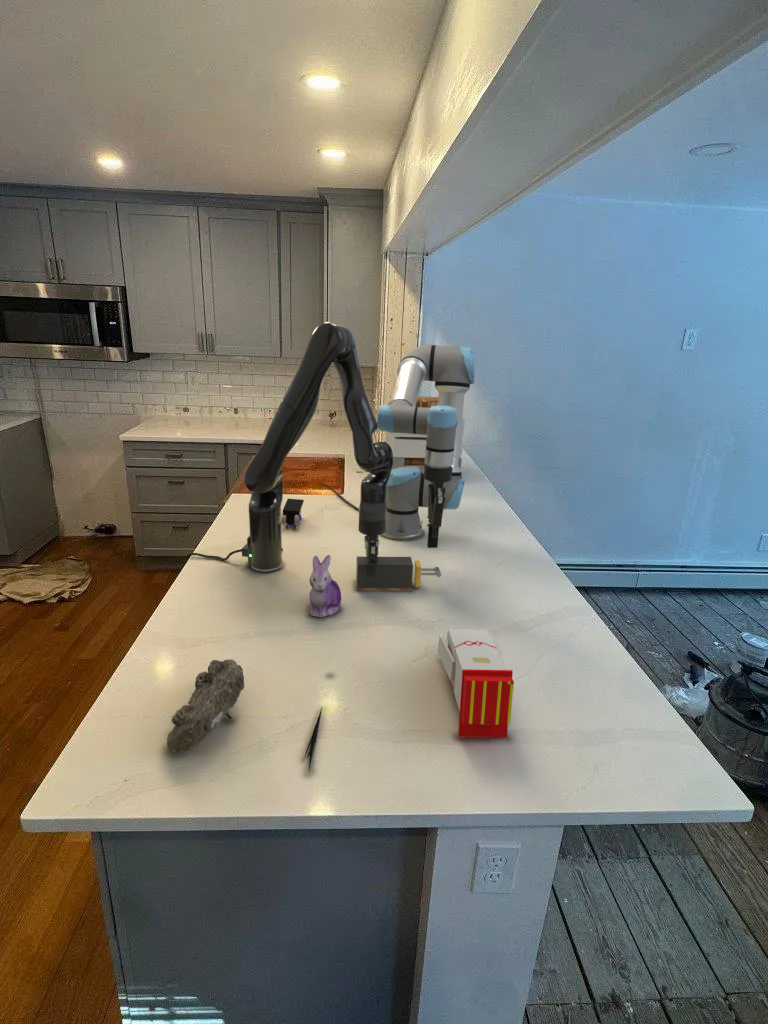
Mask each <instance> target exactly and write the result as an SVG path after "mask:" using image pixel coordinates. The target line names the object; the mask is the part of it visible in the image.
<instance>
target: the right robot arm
mask: <svg viewBox="0 0 768 1024" xmlns="http://www.w3.org/2000/svg"><path fill="white" fill-rule="evenodd" d="M396 372H397V373H396V374H397V379H396V382H395V385H394V387H393V391H392V393H391V397H390V400H389V401H390V403H389V402H388V403H389V404H381V405H380V406H379V407H378V409H377V418H376V422H377V425H378V428H377V430H378V431H380V432H384V433H386V432H390V433H407V434H420V435H427V441H426V449H425V464H426V465H425V466H423V472H422V469H421V468H420V467H419V466H418V467H417V466H404V467H400V468H396V469H393V470H391V473H390V477H389V480H388V483H387V494H386V505H387V514H386V531H385V533H384V534H382V535H381V536H382V537H385V538H387V539H389V540H395V541H410V540H415V539H418V538H420V537H421V536H422V535H423V520H421V518H420V515H419V508H427V519H428V523H427V527H428V529H427V539H426V540H427V542H426V546H427V549H438V546H439V545H438V544H439V535H440V533H439V532H440V528H441V527H442V522H443V516H444V515H443V513H444V511H446V510H457V509H458V508H459V507H460V504H461V501H462V498H463V497H462V496H463V493H464V492H463V491H464V486H465V483H466V477H465V476H464V475H463V474H462V473H463V470H462V468H461V469H460V468H459V467H458V459H459V448H460V439H461V438H460V437H461V426H462V419H463V414H464V403H465V394H466V393H467V392H468V391H470V388H471V385H473V384H475V379H476V378H475V353H474V350H473V348H471V347H469V346H461V345H441V344H440V345H438V344H424V345H420V346H417V347H415V348H412V349H411V350H410V351H408V352H407V353H405V355H404V356H403V357H401V359H400V361H399V363H398V365H397V369H396ZM423 382H434V388H435V389H436V391H437V392H438V394H437V395H438V396H437V397H438V406H432V407H430V408H424V407H415V406H416V402H417V398H418V397H419V394H420V389H421V385H422V383H423ZM318 484H320V485H322V486H324V487H326V488H327V489H328V490H330V491H332V493H334V494H335V495H336V496H338V497H339V498H340V499H341V500H343V501H344V502H345V503H346V504H348V505H349V506H350V507H352V508H353V509H355V510H356V511H359V507H357V506H356V505H354V504H353V503H351V502H349V501H348V500H347V499H345V498H344V497H343V496H342V495H341V494H340V493H338V492H337V491H336V490H335V489H333V488H332V487H330V486H329V485H327V484H325V483H323V482H321V481H318Z"/></svg>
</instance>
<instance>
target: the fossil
mask: <svg viewBox="0 0 768 1024" xmlns="http://www.w3.org/2000/svg"><path fill="white" fill-rule="evenodd" d="M243 670H244V669H243V667H242V665H240V664H237V662H236V661H235V660H234V659H232V658H231V659H227V658H226V659H224V660H223V661H222V660H217V659H212V660H211V661H210V663H209V665H208V666H207V671H201V672H199V673H198V674H197V675H196V676H195V680H194V684H195V685H194V687H195V689H194V690H193V693H192V694H191V697H190V698H189V700H188V704H184V705H182V706H181V707H180V709H177V710H176V711H175V713H174V715H173V716H172V718H171V723H172V724H173V727H172V730H171V731H170V732H168V734H167V738H166V741H167V742H166V745H167V749H168V750H169V751H173V752H174V753H176V754H178V753H182V752H188V751H189V752H192V751H193V750H195V748H196V747H197V746H199V744H200V743H201V742H203V741H204V740H205V739H206V738H207V737H208V736H209V735H210V734H211V733H212V732H214V730H215V729H217V727H218V726H219V724H220V722H221V721H222V720H223V719H224V718H225V716H226V717H227V719H229V720H233V717H232V715H230V714H229V710H230V709H231V708H234V706H235V704H236V703H237V702H238V699H239V697H240V695H241V693H242V691H243V690H245V689H244V688H245V675H244V671H243Z"/></svg>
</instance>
